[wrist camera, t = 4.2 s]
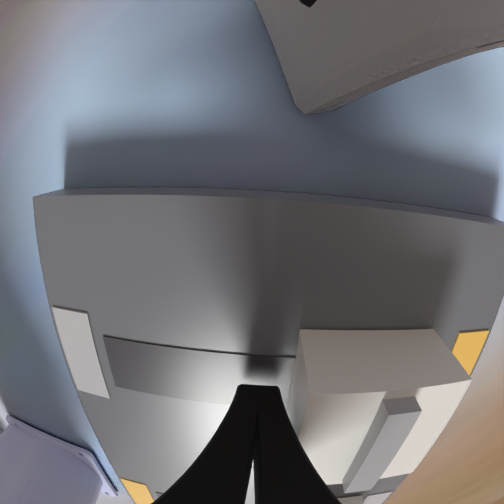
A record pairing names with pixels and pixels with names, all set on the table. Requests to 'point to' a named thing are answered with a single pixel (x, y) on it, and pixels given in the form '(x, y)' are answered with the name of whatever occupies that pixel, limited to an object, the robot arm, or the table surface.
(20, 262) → the table surface
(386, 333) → the slider
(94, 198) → the switch panel
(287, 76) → the electrical switch
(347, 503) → the slider
